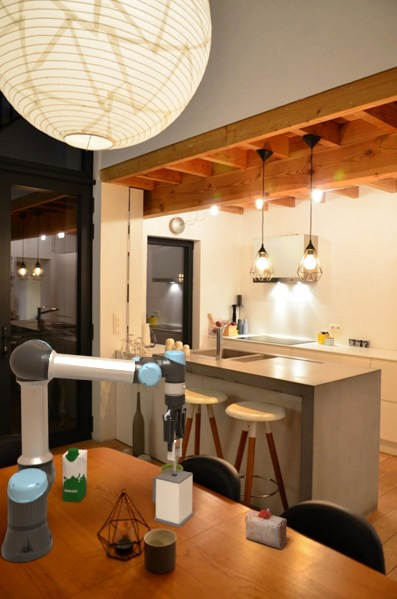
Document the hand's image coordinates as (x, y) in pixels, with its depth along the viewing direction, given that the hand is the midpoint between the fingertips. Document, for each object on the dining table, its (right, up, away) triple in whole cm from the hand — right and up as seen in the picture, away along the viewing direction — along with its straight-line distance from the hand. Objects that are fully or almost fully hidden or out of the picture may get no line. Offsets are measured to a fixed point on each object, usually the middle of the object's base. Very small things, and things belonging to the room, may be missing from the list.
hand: (174, 457), depth 166 cm
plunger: (0, -13, 0) cm, 13 cm away
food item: (+31, -23, -14) cm, 41 cm away
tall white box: (-2, -22, +1) cm, 22 cm away
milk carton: (-40, -22, +16) cm, 49 cm away
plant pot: (-3, -22, +25) cm, 34 cm away
